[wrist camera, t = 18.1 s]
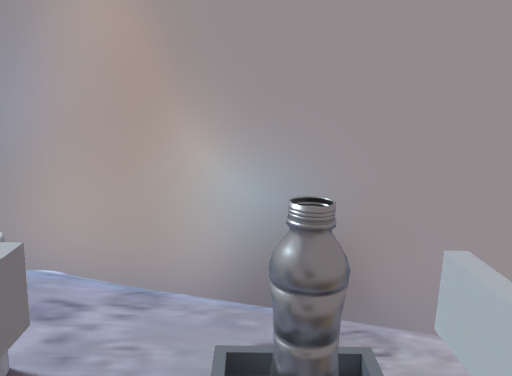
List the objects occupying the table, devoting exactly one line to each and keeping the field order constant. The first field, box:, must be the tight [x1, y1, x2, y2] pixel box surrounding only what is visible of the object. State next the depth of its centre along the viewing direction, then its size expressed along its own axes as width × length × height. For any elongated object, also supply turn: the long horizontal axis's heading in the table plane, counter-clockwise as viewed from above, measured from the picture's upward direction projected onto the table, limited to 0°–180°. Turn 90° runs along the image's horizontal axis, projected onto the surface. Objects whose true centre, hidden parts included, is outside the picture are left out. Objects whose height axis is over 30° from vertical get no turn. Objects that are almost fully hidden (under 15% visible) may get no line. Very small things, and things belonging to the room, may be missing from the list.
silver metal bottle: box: [269, 196, 350, 376], centre depth 37 cm, size 6×7×20 cm
